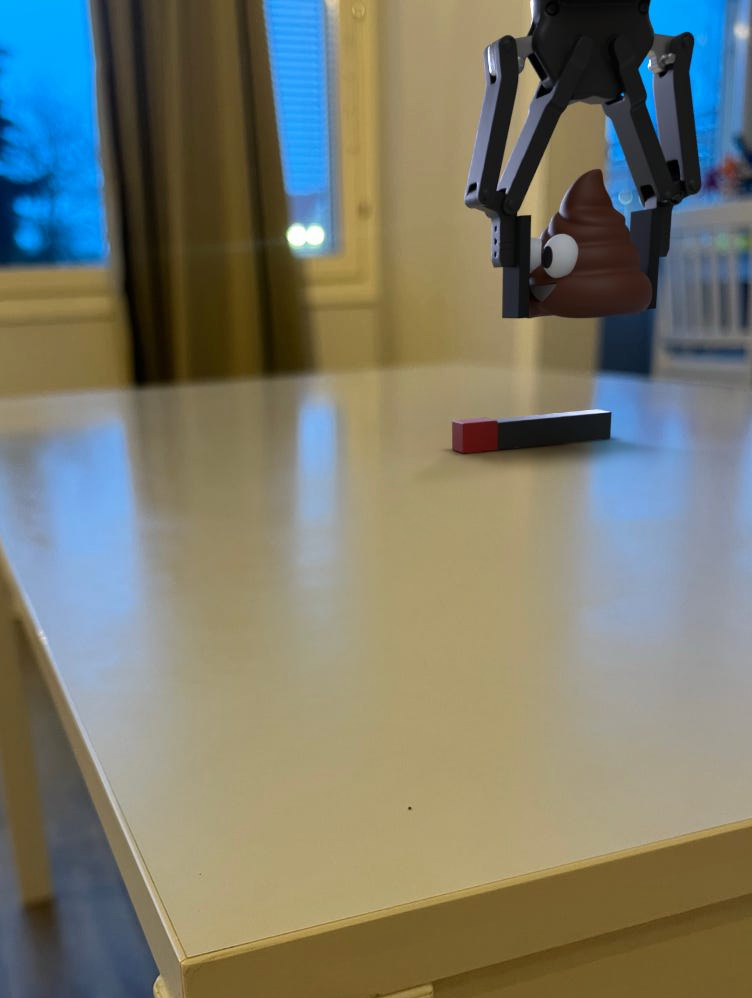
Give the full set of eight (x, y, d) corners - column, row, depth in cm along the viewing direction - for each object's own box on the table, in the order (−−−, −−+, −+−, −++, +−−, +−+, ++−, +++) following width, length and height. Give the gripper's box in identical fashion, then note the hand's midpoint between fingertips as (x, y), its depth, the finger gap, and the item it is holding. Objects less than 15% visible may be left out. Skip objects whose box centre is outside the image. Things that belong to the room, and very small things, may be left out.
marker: (596, 435, 84) (597, 406, 83) (611, 439, 82) (612, 409, 81) (451, 449, 82) (451, 420, 81) (462, 453, 79) (462, 423, 79)
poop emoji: (679, 311, 67) (690, 159, 64) (576, 320, 64) (582, 161, 61) (582, 312, 76) (587, 178, 72) (487, 320, 73) (489, 181, 70)
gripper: (711, -45, 68) (685, 303, 75) (409, -43, 64) (414, 323, 71) (786, -85, 61) (750, 303, 68) (453, -86, 57) (453, 324, 64)
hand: (578, 313), depth 70 cm, fingers closed on poop emoji, 9 cm apart
